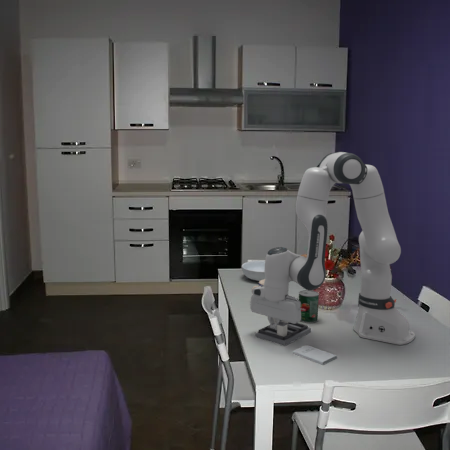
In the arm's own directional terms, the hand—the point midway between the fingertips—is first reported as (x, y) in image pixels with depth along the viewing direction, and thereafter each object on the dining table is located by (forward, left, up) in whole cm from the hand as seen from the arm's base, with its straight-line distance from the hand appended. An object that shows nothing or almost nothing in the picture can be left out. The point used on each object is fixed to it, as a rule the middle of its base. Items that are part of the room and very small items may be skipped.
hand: (274, 328), depth 207 cm
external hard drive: (-19, +4, -4) cm, 20 cm away
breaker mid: (+3, -5, -2) cm, 6 cm away
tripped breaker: (-3, 0, -2) cm, 4 cm away
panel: (0, -5, -4) cm, 6 cm away
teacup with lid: (+26, -31, -4) cm, 41 cm away
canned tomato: (+1, -25, -4) cm, 26 cm away
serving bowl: (+48, -60, -4) cm, 77 cm away
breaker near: (+3, -11, -2) cm, 11 cm away
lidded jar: (+39, -90, -4) cm, 98 cm away
